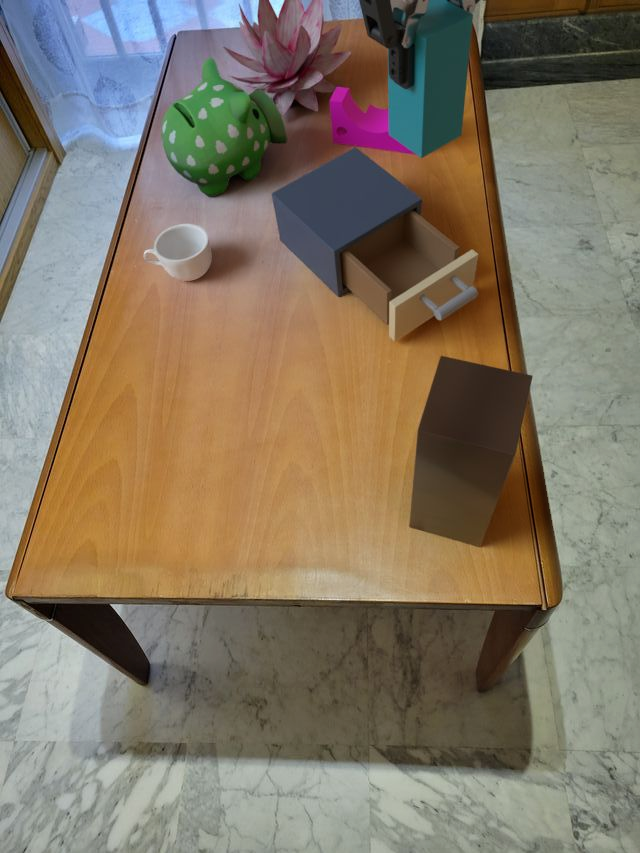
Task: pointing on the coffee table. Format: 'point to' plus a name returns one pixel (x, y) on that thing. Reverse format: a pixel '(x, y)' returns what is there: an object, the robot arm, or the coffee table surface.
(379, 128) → the toy block
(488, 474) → the stand
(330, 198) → the cabinet
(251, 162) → the piggy bank
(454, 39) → the block
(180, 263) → the teacup
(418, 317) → the drawer
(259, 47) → the decorative flower
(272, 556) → the coffee table surface
